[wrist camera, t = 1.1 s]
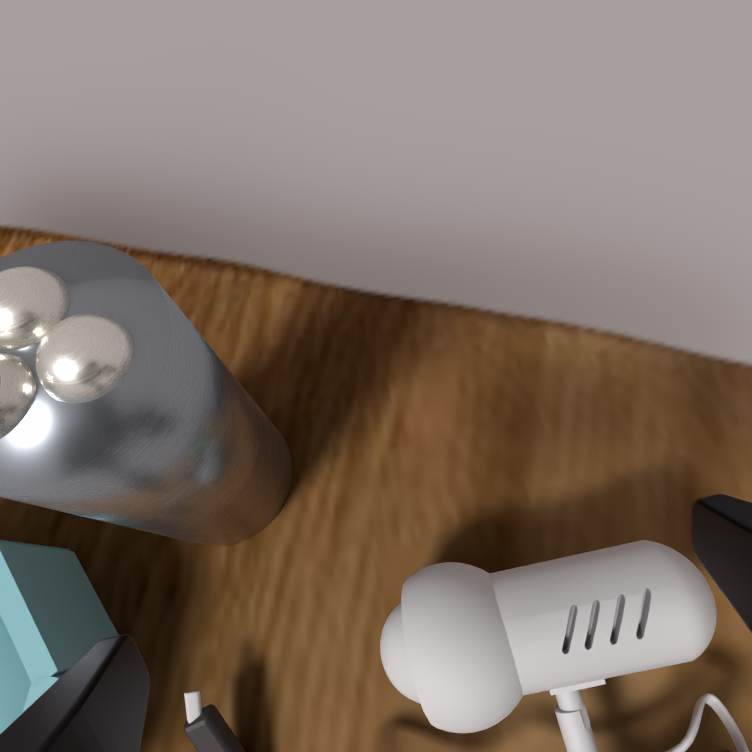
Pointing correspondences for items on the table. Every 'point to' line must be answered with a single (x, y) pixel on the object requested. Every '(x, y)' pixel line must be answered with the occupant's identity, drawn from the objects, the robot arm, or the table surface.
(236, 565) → the table surface
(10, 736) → the robot arm
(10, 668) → the bowl
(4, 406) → the steel cylinder with balls
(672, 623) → the clip-on lamp
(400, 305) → the table surface
